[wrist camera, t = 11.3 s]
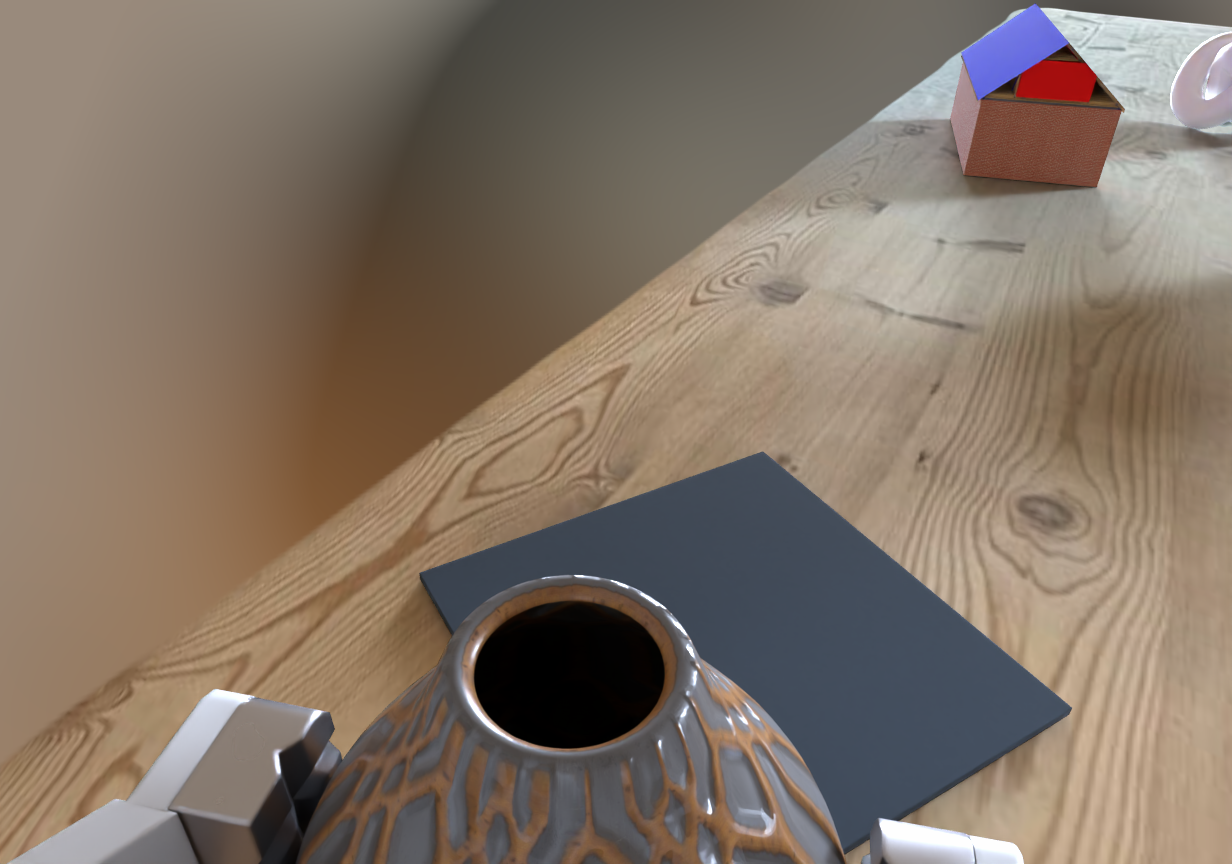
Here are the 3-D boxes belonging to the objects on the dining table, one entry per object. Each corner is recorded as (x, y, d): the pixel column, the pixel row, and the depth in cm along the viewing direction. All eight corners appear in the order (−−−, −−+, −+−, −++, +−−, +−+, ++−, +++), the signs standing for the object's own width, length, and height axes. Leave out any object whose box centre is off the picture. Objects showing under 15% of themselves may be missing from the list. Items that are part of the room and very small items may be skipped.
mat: (646, 978, 25) (646, 971, 25) (420, 579, 38) (418, 572, 37) (1069, 714, 32) (1072, 707, 32) (761, 457, 45) (762, 450, 45)
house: (1064, 126, 95) (1099, 6, 89) (1101, 188, 79) (1147, 48, 73) (946, 117, 98) (972, -1, 91) (959, 175, 82) (992, 38, 75)
